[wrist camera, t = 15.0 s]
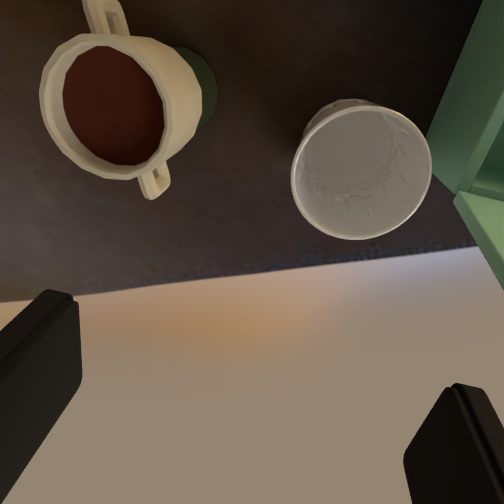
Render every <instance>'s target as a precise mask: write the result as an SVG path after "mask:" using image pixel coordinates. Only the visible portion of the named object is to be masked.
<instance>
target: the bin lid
mask: <svg viewBox="0 0 504 504" xmlns="http://www.w3.org/2000/svg"><path fill="white" fill-rule="evenodd" d="M453 203H454V205H455V207H456V208H457V210H458V212H459V214H460V215H461V217H462V219H463V221H464V222H465V224H466V226H467V227H468V229H469V231H470V233H471V234H472V236H473V238H474V240H475V241H476V243H477V245H478V247H479V248H480V250H481V252H482V253H483V255H484V257H485V259H486V260H487V262H488V264H489V266H490V267H491V269H492V271H493V273H494V274H495V276H496V278H497V280H498V281H499V283H500V285H501V286H502V288H503V290H504V202H503V201H499V200H495V199H491V198H487V197H483V196H479V195H474V194H470V193H466V192H462V191H459V192H458V194H457V195H456V197H455V199H454V201H453Z"/></svg>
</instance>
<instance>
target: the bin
mask: <svg viewBox="0 0 504 504" xmlns="http://www.w3.org/2000/svg"><path fill="white" fill-rule="evenodd" d="M425 140H426V142H427V144H428V147H429V150H430V154H431V160H432V173H433V174H434V175H435V176H436V177H437V178H438V179H439V180H440V181H441V182H442V183H443V184H444V185H445V186H446V187H447V188H449V189H450V190H451V191H452V192H453V193H454V194H458V192H459V191H462V192H466V193H470V194H474V195H479V196H483V197H487V198H491V199H495V200H499V201H503V202H504V0H483V1H482V4H481V6H480V9H479V11H478V13H477V16H476V18H475V20H474V23H473V25H472V28H471V30H470V32H469V35H468V37H467V39H466V42H465V44H464V47H463V49H462V51H461V54H460V56H459V59H458V61H457V63H456V66H455V68H454V70H453V73H452V75H451V78H450V80H449V82H448V85H447V87H446V89H445V92H444V94H443V97H442V99H441V101H440V104H439V106H438V108H437V111H436V113H435V116H434V118H433V120H432V123H431V125H430V127H429V130H428V132H427V135H426V137H425Z"/></svg>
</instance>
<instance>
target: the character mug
mask: <svg viewBox="0 0 504 504" xmlns="http://www.w3.org/2000/svg"><path fill="white" fill-rule="evenodd" d="M82 3H83V9H84V12H85V15H86V18H87V21H88V25H89V28H90V31H91V34H79V35H78V36H76V37H74V38H72V39H71V40H69V41H67V42H66V43H64V44H62V45H60V46H59V47H57V49H56V50H55V52H54V53H53V55H52V56H51V58H50V59H49V61H48V62H47V64H46V65H45V67H44V68H43V73H42V79H41V84H40V90H39V98H40V107H41V113H42V116H43V120H44V123H45V126H46V128H47V130H48V132H49V134H50V135H51V137H52V139H53V140H54V141H55V143H56V144H57V145H58V147H59V148H60V150H61V151H62V152H63V153H64V154H65V155H66V156H68V157H69V158H70V159H71V160H72V161H74V162H75V163H76V164H77V165H78V166H79V167H81V168H82V169H84V170H87V171H89V172H91V173H94V174H96V175H98V176H101V177H103V178H108V179H122V180H130V179H132V178H135V177H138V181H139V184H140V187H141V190H142V193H143V195H144V196H145V198H147V199H150V200H153V199H155V198H157V197H158V196H160V195H161V194H162V193H163V192H164V191H165V190H166V189H167V188H168V187H169V185H170V175H169V171H168V168H167V164H166V160H167V159H169V158H170V157H171V156H173V155H174V154H175V153H177V152H178V151H179V150H181V148H182V147H183V146H184V145H185V144H186V143H187V142H188V141H189V140H190V139H191V138H192V137H193V136H194V133H195V131H196V129H198V128H201V127H203V126H204V125H205V124H206V122H207V121H208V120H209V119H210V117H211V116H212V115H213V113H214V112H215V108H216V103H217V99H218V94H219V93H218V89H217V84H216V79H215V74H214V73H213V71H212V70H211V69H210V67H209V66H208V64H207V63H206V62H205V60H204V59H203V58H202V57H201V56H199V55H197V54H196V53H194V52H192V51H190V50H189V49H187V48H182V47H169V46H167V45H165V44H163V43H161V42H158V41H156V40H154V39H152V38H148V37H138V36H130V33H129V30H128V26H127V23H126V19H125V15H124V12H123V10H122V7H121V5H120V3H119V2H118V1H117V0H82ZM106 17H107V18H106ZM107 19H108V22H107ZM108 23H109V25H108ZM109 26H110V28H109ZM110 29H111V32H110ZM111 33H112V34H111ZM152 170H153V171H152ZM153 173H154V175H153ZM154 176H155V178H154Z"/></svg>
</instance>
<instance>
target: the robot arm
mask: <svg viewBox="0 0 504 504" xmlns="http://www.w3.org/2000/svg"><path fill="white" fill-rule="evenodd" d="M79 321H80V320H79V305H78V302H76V301H73V297H72V295H71V294H68V293H63V292H59V291H55V290H50V289H47V290H45V291H43V292H42V293H41V294H40V295H39V296H38V297H36V298H35V299H34V300H33V301H32V302H31V303H30V304H29V305H28V306H27V307H26V308H25V309H23V310H22V312H20V313H19V314H18V315H17V316H16V317H15V318H14V319H13V320H12V321H11V322H9V323H8V324H7V325H6V326H5V327H4V328H3V329H2V330H1V331H0V504H1V503H2V502H3V500H4V499H5V497H6V496H7V494H8V493H9V491H10V490H11V488H12V487H13V486H14V484H15V482H16V481H17V480H18V478H19V477H20V475H21V474H22V472H23V471H24V469H25V468H26V466H27V465H28V463H29V462H30V460H31V458H32V457H33V456H34V454H35V453H36V451H37V450H38V448H39V447H40V445H41V444H42V442H43V441H44V439H45V438H46V436H47V435H48V433H49V432H50V430H51V429H52V427H53V426H54V424H55V423H56V421H57V420H58V418H59V417H60V415H61V414H62V412H63V411H64V409H65V408H66V406H67V405H68V403H69V402H70V400H71V399H72V397H73V396H74V394H75V393H76V391H77V390H78V388H79V386H80V384H81V380H82V360H81V359H82V358H81V339H80V322H79ZM403 464H404V469H405V474H406V478H407V482H408V487H409V491H410V496H411V500H412V504H504V428H503V426H502V424H501V422H500V420H499V418H498V416H497V414H496V412H495V410H494V408H493V406H492V404H491V402H490V400H489V398H488V397H487V395H486V393H485V392H484V390H482V389H481V388H477V387H473V386H468V385H464V384H459V383H455V384H453V385H452V386H451V387H446V388H445V389H444V391H443V392H442V393H441V395H440V397H439V398H438V400H437V401H436V403H435V404H434V406H433V408H432V409H431V411H430V413H429V414H428V416H427V417H426V419H425V421H424V422H423V424H422V425H421V427H420V428H419V430H418V432H417V433H416V435H415V436H414V438H413V439H412V441H411V443H410V444H409V446H408V448H407V449H406V451H405V453H404V459H403Z"/></svg>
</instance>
